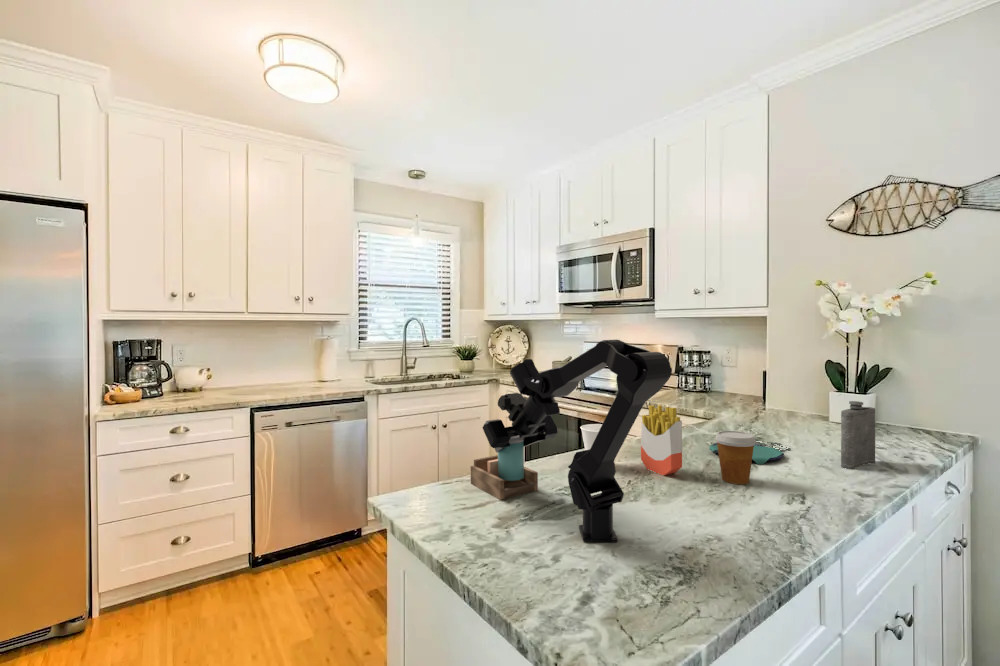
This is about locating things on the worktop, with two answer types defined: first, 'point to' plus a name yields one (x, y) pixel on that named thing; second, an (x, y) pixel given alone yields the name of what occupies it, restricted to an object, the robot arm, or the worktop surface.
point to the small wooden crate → (501, 480)
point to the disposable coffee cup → (735, 455)
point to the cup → (590, 434)
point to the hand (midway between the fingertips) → (507, 448)
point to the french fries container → (661, 440)
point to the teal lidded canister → (512, 460)
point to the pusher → (493, 467)
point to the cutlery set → (760, 452)
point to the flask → (857, 435)
